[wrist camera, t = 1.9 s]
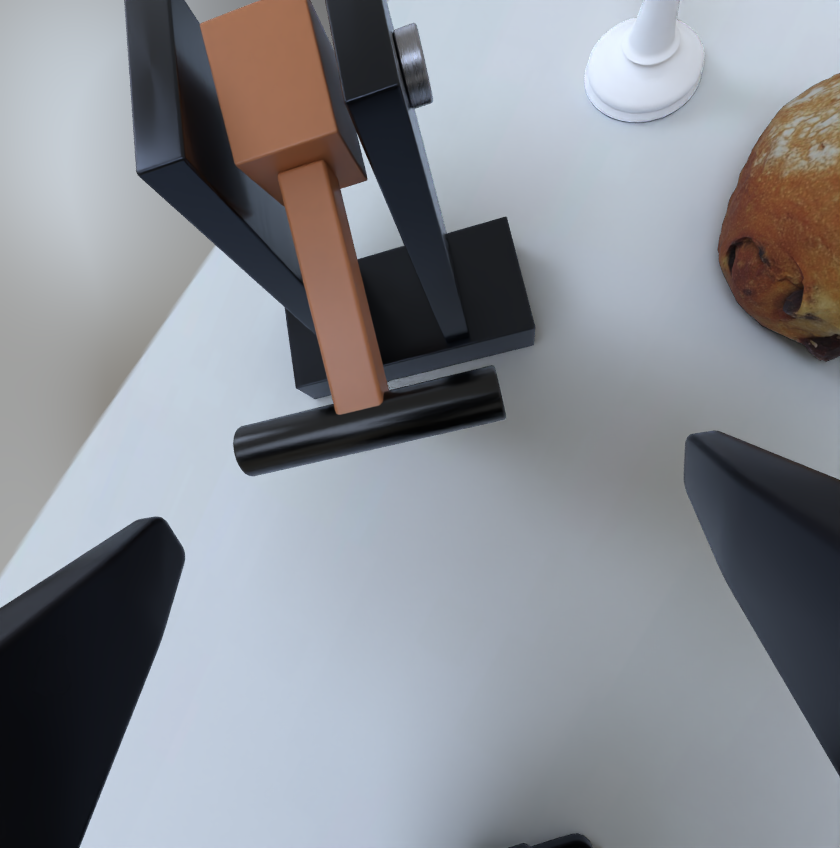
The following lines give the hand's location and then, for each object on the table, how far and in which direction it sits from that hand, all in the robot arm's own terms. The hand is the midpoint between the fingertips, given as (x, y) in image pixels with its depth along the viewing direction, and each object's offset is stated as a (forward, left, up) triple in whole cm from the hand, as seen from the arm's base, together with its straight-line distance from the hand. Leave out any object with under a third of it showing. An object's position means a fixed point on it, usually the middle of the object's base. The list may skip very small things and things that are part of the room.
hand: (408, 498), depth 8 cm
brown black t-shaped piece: (+6, 0, -2) cm, 7 cm away
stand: (+9, -1, -12) cm, 15 cm away
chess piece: (+15, -14, -13) cm, 24 cm away
